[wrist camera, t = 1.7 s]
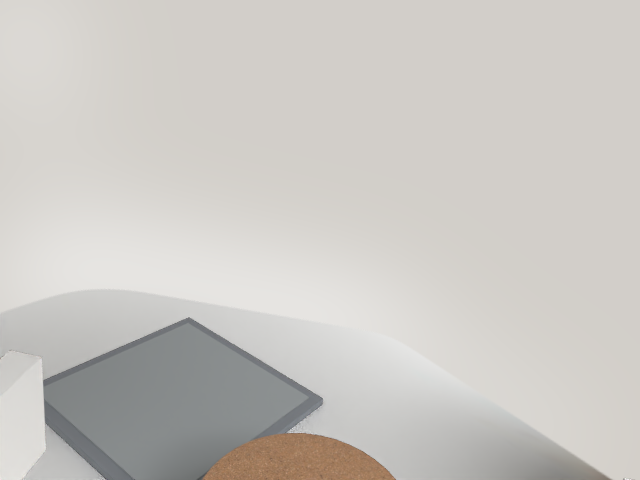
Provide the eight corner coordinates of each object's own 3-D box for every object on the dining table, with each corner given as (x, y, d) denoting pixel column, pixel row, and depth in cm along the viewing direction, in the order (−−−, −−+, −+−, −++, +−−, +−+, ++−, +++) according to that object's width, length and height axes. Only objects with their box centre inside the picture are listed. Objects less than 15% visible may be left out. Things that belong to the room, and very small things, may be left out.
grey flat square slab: (321, 404, 45) (323, 397, 45) (159, 528, 33) (160, 520, 33) (188, 322, 54) (188, 316, 53) (18, 398, 41) (18, 390, 41)
